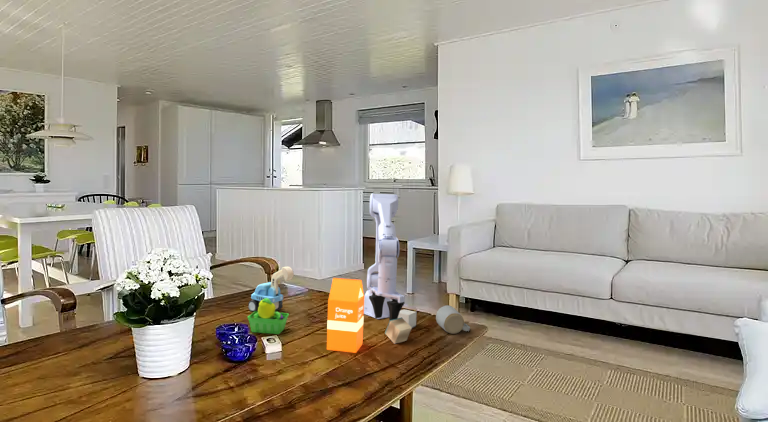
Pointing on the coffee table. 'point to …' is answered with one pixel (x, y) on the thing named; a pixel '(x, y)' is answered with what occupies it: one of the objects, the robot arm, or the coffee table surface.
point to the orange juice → (345, 315)
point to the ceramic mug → (451, 320)
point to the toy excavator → (271, 290)
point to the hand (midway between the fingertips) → (385, 320)
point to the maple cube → (398, 330)
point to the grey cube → (408, 317)
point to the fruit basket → (267, 318)
